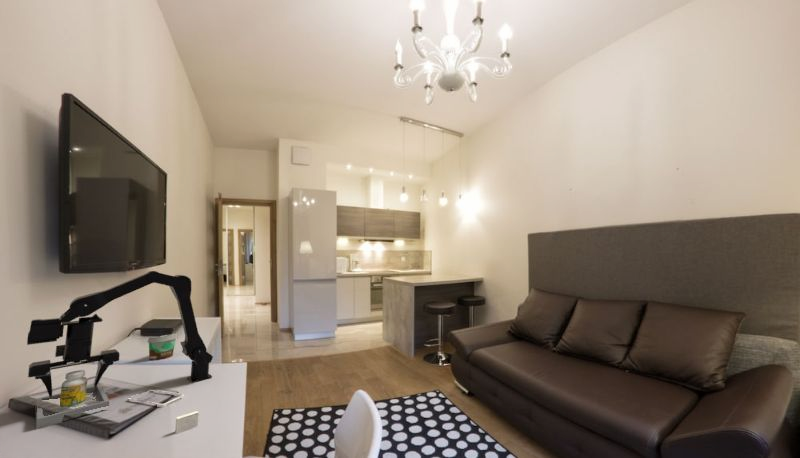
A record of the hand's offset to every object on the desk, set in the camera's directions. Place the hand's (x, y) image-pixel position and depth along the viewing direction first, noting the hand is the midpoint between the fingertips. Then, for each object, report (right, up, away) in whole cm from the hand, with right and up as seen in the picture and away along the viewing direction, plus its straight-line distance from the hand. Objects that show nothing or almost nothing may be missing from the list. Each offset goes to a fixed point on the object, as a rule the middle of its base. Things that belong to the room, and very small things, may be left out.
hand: (73, 391), depth 92 cm
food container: (-8, -9, +46) cm, 48 cm away
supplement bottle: (0, -4, 0) cm, 4 cm away
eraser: (+41, -5, -10) cm, 43 cm away
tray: (0, -5, 0) cm, 5 cm away
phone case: (+20, -7, +6) cm, 22 cm away
